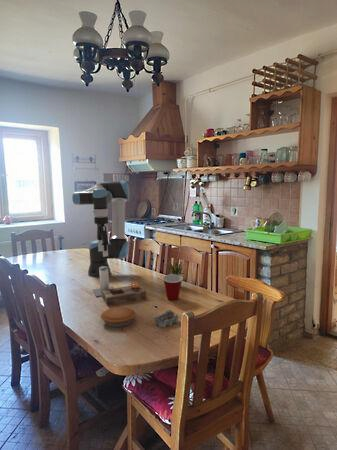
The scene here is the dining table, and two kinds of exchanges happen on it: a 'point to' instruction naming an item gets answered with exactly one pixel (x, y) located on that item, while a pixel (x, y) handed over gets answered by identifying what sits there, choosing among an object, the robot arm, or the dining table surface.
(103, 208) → the robot arm
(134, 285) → the release button
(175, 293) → the plastic cup
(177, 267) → the house plant
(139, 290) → the housing
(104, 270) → the cartridge
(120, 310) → the pie
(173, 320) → the egg carton
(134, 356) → the dining table surface
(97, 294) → the mat
